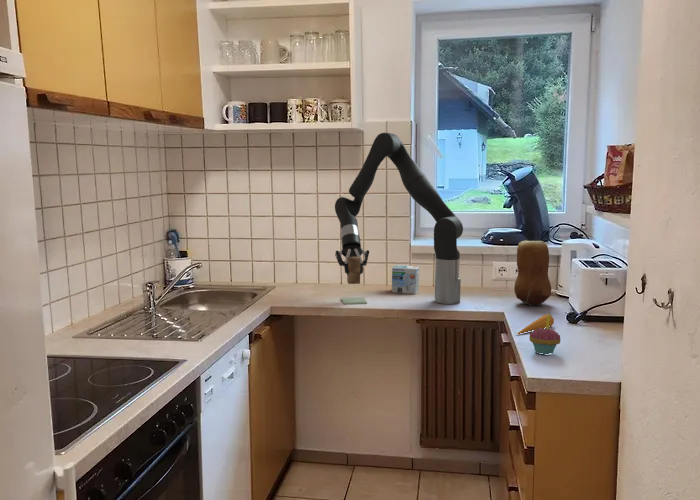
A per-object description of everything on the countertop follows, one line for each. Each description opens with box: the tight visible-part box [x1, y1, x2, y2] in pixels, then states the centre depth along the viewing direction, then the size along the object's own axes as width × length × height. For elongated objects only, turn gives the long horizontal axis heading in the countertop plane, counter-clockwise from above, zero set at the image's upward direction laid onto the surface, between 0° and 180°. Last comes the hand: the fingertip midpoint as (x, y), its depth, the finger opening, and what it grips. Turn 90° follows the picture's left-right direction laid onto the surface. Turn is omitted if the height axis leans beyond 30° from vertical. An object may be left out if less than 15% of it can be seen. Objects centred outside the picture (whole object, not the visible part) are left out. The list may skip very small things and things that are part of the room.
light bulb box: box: [391, 264, 420, 295], centre depth 250 cm, size 11×7×11 cm, turn 73°
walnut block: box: [346, 256, 361, 285], centre depth 231 cm, size 4×4×10 cm
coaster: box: [340, 296, 368, 305], centre depth 233 cm, size 9×9×1 cm
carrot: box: [516, 314, 555, 334], centre depth 192 cm, size 20×4×4 cm, turn 129°
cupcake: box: [529, 310, 561, 354], centre depth 169 cm, size 9×8×12 cm
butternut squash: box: [514, 240, 552, 306], centre depth 226 cm, size 14×13×25 cm
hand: (354, 273), depth 229 cm, fingers closed on walnut block, 4 cm apart
